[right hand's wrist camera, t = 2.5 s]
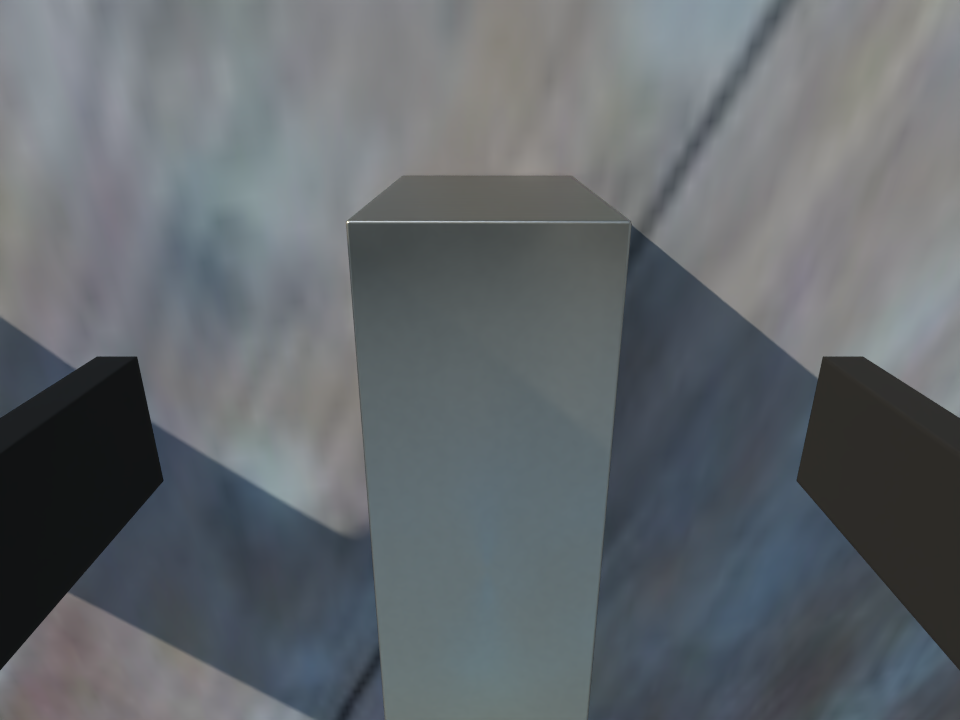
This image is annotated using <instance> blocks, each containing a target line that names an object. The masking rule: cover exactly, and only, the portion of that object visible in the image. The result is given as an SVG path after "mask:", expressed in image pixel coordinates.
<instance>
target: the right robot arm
mask: <svg viewBox="0 0 960 720" xmlns="http://www.w3.org/2000/svg"><path fill="white" fill-rule="evenodd" d="M162 482H163V476H162V472H161V467H160V462H159V457H158V453H157V448H156V443H155V439H154V434H153V429H152V425H151V420H150V415H149V410H148V406H147V401H146V396H145V392H144V387H143V382H142V378H141V373H140V368H139V364H138V359H137V357H96V358H94V359H93V360H91V361H89V362H88V363H86V364H85V365H83V366H82V367H80V368H78V369H77V370H75V371H74V372H72V373H71V374H69V375H67V376H66V377H64V378H63V379H61V380H60V381H58V382H56V383H55V384H53V385H52V386H50V387H49V388H47V389H45V390H44V391H42V392H41V393H39V394H38V395H36V396H34V397H33V398H31V399H30V400H28V401H27V402H25V403H23V404H22V405H20V406H19V407H17V408H16V409H14V410H12V411H11V412H9V413H8V414H6V415H5V416H3V417H1V418H0V670H1V669H2V668H3V667H4V665H5V664H6V663H7V662H8V661H9V660H10V658H11V657H12V656H13V655H14V654H15V653H16V651H17V650H18V649H19V648H20V647H21V646H22V644H23V643H24V642H25V641H26V640H27V639H28V637H29V636H30V635H31V634H32V633H33V632H34V631H35V629H36V628H37V627H38V626H39V625H40V624H41V622H42V621H43V620H44V619H45V618H46V617H47V615H48V614H49V613H50V612H51V611H52V610H53V608H54V607H55V606H56V605H57V604H58V603H59V601H60V600H61V599H62V598H63V597H64V596H65V595H66V593H67V592H68V591H69V590H70V589H71V588H72V586H73V585H74V584H75V583H76V582H77V581H78V579H79V578H80V577H81V576H82V575H83V574H84V572H85V571H86V570H87V569H88V568H89V567H90V565H91V564H92V563H93V562H94V561H95V560H96V559H97V557H98V556H99V555H100V554H101V553H102V552H103V550H104V549H105V548H106V547H107V546H108V545H109V543H110V542H111V541H112V540H113V539H114V538H115V536H116V535H117V534H118V533H119V532H120V531H121V529H122V528H123V527H124V526H125V525H126V524H127V523H128V521H129V520H130V519H131V518H132V517H133V516H134V514H135V513H136V512H137V511H138V510H139V509H140V507H141V506H142V505H143V504H144V503H145V502H146V500H147V499H148V498H149V497H150V496H151V495H152V493H153V492H154V491H155V490H156V489H157V488H158V486H159V485H160V484H161V483H162ZM797 482H798V483H799V484H800V485H801V486H802V488H803V489H804V490H805V491H806V492H807V493H808V495H809V496H810V497H811V498H812V499H813V500H814V502H815V503H816V504H817V505H818V506H819V507H820V509H821V510H822V511H823V512H824V513H825V514H826V516H827V517H828V518H829V519H830V520H831V521H832V523H833V524H834V525H835V526H836V527H837V528H838V529H839V531H840V532H841V533H842V534H843V535H844V536H845V538H846V539H847V540H848V541H849V542H850V543H851V545H852V546H853V547H854V548H855V549H856V550H857V552H858V553H859V554H860V555H861V556H862V557H863V559H864V560H865V561H866V562H867V563H868V564H869V565H870V567H871V568H872V569H873V570H874V571H875V572H876V574H877V575H878V576H879V577H880V578H881V579H882V581H883V582H884V583H885V584H886V585H887V586H888V588H889V589H890V590H891V591H892V592H893V593H894V595H895V596H896V597H897V598H898V599H899V600H900V601H901V603H902V604H903V605H904V606H905V607H906V608H907V610H908V611H909V612H910V613H911V614H912V615H913V617H914V618H915V619H916V620H917V621H918V622H919V624H920V625H921V626H922V627H923V628H924V629H925V631H926V632H927V633H928V634H929V635H930V636H931V637H932V639H933V640H934V641H935V642H936V643H937V644H938V646H939V647H940V648H941V649H942V650H943V651H944V653H945V654H946V655H947V656H948V657H949V658H950V660H951V661H952V662H953V663H954V664H955V665H956V667H957V668H958V669H959V670H960V418H959V417H957V416H955V415H954V414H952V413H951V412H949V411H948V410H946V409H944V408H943V407H941V406H940V405H938V404H937V403H935V402H933V401H932V400H930V399H929V398H927V397H926V396H924V395H922V394H921V393H919V392H918V391H916V390H915V389H913V388H911V387H910V386H908V385H907V384H905V383H904V382H902V381H900V380H899V379H897V378H896V377H894V376H893V375H891V374H889V373H888V372H886V371H885V370H883V369H882V368H880V367H878V366H877V365H875V364H874V363H872V362H871V361H869V360H867V359H866V358H864V357H823V359H822V364H821V368H820V373H819V378H818V382H817V387H816V392H815V396H814V401H813V406H812V410H811V415H810V420H809V425H808V429H807V434H806V439H805V443H804V448H803V453H802V457H801V462H800V467H799V472H798V476H797Z"/></svg>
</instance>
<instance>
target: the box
mask: <svg viewBox="0 0 960 720" xmlns="http://www.w3.org/2000/svg"><path fill="white" fill-rule="evenodd" d="M631 224H632V223H631V221H630V220H629V219H627V218H626V217H625V216H623V215H622V214H621V213H619V212H618V211H617V210H616V209H614V208H613V207H612V206H610V205H609V204H608V203H606V202H605V201H604V200H603V199H601V198H600V197H599V196H597V195H596V194H595V193H593V192H592V191H591V190H590V189H588V188H587V187H586V186H584V185H583V184H582V183H580V182H579V181H578V180H577V179H575V178H574V177H573V176H402V177H400V178H399V179H398V180H397V181H396V182H394V183H393V184H392V185H391V186H389V187H388V188H387V189H386V190H384V191H383V192H382V193H381V194H379V195H378V196H377V197H376V198H375V199H373V200H372V201H371V202H370V203H368V204H367V205H366V206H365V207H363V208H362V209H361V210H360V211H358V212H357V213H356V214H355V215H354V216H352V217H351V218H350V219H349V220H347V222H346V229H347V242H348V255H349V268H350V281H351V293H352V306H353V319H354V332H355V345H356V357H357V370H358V383H359V396H360V409H361V422H362V434H363V447H364V460H365V473H366V486H367V498H368V511H369V524H370V537H371V550H372V563H373V575H374V588H375V601H376V614H377V627H378V639H379V652H380V665H381V678H382V691H383V704H384V716H385V720H588V712H589V701H590V690H591V678H592V667H593V656H594V644H595V633H596V622H597V610H598V599H599V588H600V576H601V565H602V554H603V542H604V531H605V520H606V508H607V497H608V485H609V474H610V463H611V451H612V440H613V429H614V417H615V406H616V395H617V383H618V372H619V361H620V349H621V338H622V327H623V315H624V304H625V293H626V281H627V270H628V258H629V247H630V236H631Z"/></svg>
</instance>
